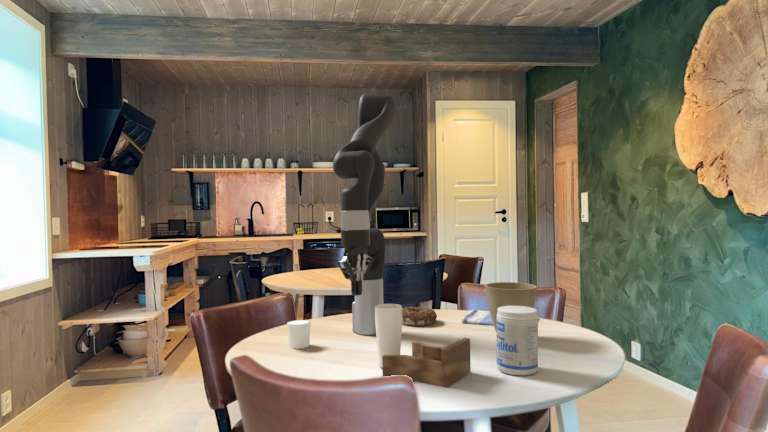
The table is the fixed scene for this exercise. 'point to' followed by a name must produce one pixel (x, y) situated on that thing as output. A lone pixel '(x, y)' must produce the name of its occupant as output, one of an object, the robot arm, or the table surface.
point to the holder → (432, 363)
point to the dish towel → (478, 318)
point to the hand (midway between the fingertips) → (356, 295)
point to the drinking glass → (388, 329)
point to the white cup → (299, 333)
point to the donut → (418, 316)
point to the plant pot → (509, 296)
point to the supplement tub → (517, 340)
